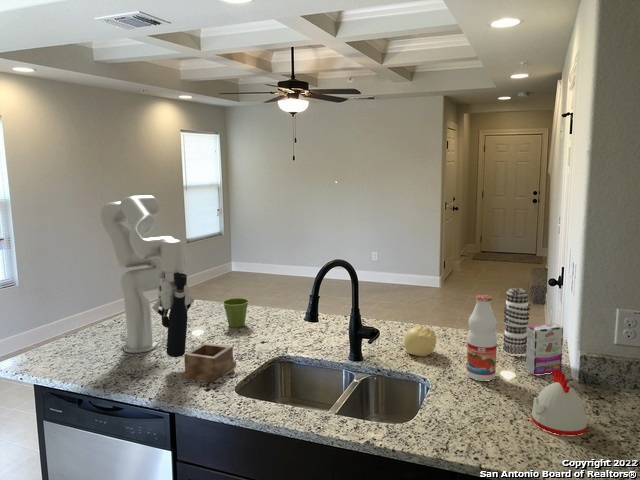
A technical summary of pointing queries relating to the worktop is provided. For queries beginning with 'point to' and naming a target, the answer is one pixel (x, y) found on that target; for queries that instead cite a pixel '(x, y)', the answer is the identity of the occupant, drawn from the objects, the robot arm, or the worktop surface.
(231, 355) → the bottle stand
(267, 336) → the worktop surface
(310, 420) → the worktop surface
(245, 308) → the plant pot
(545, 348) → the candy bar box
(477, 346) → the fruit juice
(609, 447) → the worktop surface
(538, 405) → the white and red dome
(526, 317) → the decorative candle
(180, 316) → the black water bottle
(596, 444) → the worktop surface
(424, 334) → the pale yellow round lump
